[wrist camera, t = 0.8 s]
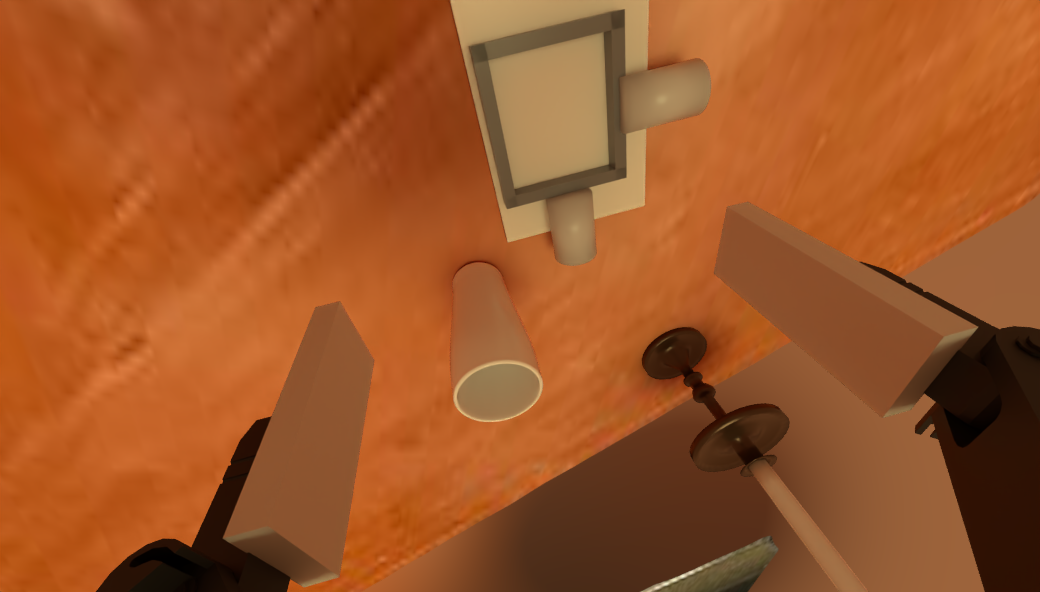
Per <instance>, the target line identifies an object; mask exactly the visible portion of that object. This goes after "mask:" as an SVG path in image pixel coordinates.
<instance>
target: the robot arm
mask: <svg viewBox="0 0 1040 592" xmlns="http://www.w3.org/2000/svg"><path fill="white" fill-rule="evenodd" d="M714 274H715V275H716V276H717V277H719V278H720V279H721V280H722V281H723V282H724V283H726V284H727V285H728V286H729V287H730V288H731V289H733V290H734V291H735V292H736V293H737V294H738V295H740V296H741V297H742V298H743V299H744V300H745V301H747V302H748V303H749V304H750V305H751V306H752V307H754V308H755V309H756V310H757V311H758V312H759V313H761V314H762V315H763V316H764V317H765V318H766V319H768V320H769V321H770V322H771V323H772V324H773V325H774V326H776V327H777V328H778V329H779V330H780V331H781V332H783V333H784V334H785V335H786V336H787V337H788V338H790V339H791V340H792V341H793V342H794V343H796V344H797V345H798V346H799V347H800V348H801V349H802V350H804V351H805V352H806V353H807V354H808V355H809V356H811V357H812V358H813V359H814V360H815V361H816V362H818V363H819V364H820V365H821V366H822V367H824V368H825V369H826V370H827V371H828V372H829V373H830V374H832V375H833V376H834V377H835V378H836V379H838V380H839V381H840V382H841V383H842V384H843V385H844V386H846V387H847V388H848V389H849V390H850V391H851V392H853V393H854V394H855V395H856V396H857V397H858V398H860V399H861V400H862V401H863V402H864V403H865V404H867V405H868V406H869V407H870V408H871V409H872V410H874V411H875V412H876V413H877V414H878V415H879V416H881V417H882V418H884V417H888V416H891V415H895V414H898V413H902V412H905V411H908V410H911V409H912V408H913V407H914V405H915V404H916V403H917V402H918V400H919V399H920V398H921V397H922V395H923V394H924V393H925V394H926V395H927V396H929V397H930V398H932V399H933V400H934V401H936V403H935V404H934V405H933V406H932V407H931V408H930V410H929V411H928V412H927V413H926V414H925V415H924V417H923V418H922V419H921V420H920V421H919V422H918V424H917V425H916V426H915V433H917V434H920V435H921V434H922V433H923V432H924V431H925V429H927V427H928V426H929V425H930V424H934V426H935V430H934V431H933V433H932V434H931V435H930V437H932V438H936V439H938V440H939V443H940V446H941V449H942V453H943V456H944V459H945V463H946V466H947V469H948V472H949V476H950V479H951V482H952V485H953V489H954V492H955V495H956V498H957V502H958V505H959V508H960V512H961V515H962V518H963V521H964V525H965V528H966V531H967V535H968V538H969V541H970V544H971V548H972V551H973V554H974V557H975V561H976V564H977V567H978V571H979V574H980V577H981V581H982V584H983V587H984V590H985V592H1040V329H1035V328H1030V327H1016V326H1013V327H1007V328H1002V329H998V328H996V327H994V326H991V325H990V324H988V323H986V322H984V321H982V320H980V319H978V318H976V317H974V316H973V315H971V314H969V313H967V312H965V311H963V310H961V309H959V308H957V307H955V306H954V305H952V304H950V303H948V302H946V301H944V300H942V299H940V298H938V297H937V296H934V295H933V294H931V293H929V292H923V289H921V288H919V287H918V286H916V285H913V284H912V283H906V281H905V280H904V279H902V278H901V277H899V276H897V275H895V274H893V273H891V272H889V271H887V270H885V269H883V268H879V267H876V266H873V265H870V264H867V263H863V262H858V261H856V260H854V259H852V258H851V257H849V256H847V255H845V254H843V253H841V252H840V251H838V250H836V249H834V248H832V247H830V246H828V245H827V244H825V243H823V242H821V241H819V240H817V239H816V238H814V237H812V236H810V235H808V234H806V233H805V232H803V231H801V230H799V229H797V228H795V227H794V226H792V225H790V224H788V223H786V222H784V221H782V220H781V219H779V218H777V217H775V216H773V215H771V214H770V213H768V212H766V211H764V210H762V209H760V208H759V207H757V206H755V205H753V204H751V203H749V202H745V203H741V204H736V205H732V206H728V207H727V209H726V214H725V219H724V224H723V229H722V234H721V239H720V244H719V249H718V254H717V259H716V264H715V270H714ZM373 365H374V359H373V357H372V355H371V354H370V352H369V350H368V349H367V347H366V345H365V343H364V342H363V340H362V338H361V337H360V335H359V333H358V331H357V330H356V328H355V326H354V325H353V323H352V321H351V319H350V318H349V316H348V314H347V313H346V311H345V309H344V307H343V306H342V304H341V302H340V301H339V302H335V303H331V304H327V305H323V306H318V307H315V310H314V312H313V315H312V317H311V320H310V322H309V325H308V327H307V330H306V332H305V335H304V337H303V340H302V342H301V345H300V347H299V350H298V352H297V355H296V357H295V360H294V362H293V365H292V367H291V370H290V372H289V375H288V377H287V380H286V382H285V385H284V387H283V390H282V392H281V395H280V397H279V399H278V402H277V404H276V407H275V409H274V412H273V414H272V416H271V417H267V418H263V419H260V420H256V422H255V423H254V424H253V425H252V426H251V428H250V429H249V430H248V431H247V433H246V434H245V435H244V436H243V438H242V439H241V440H240V442H239V444H238V446H237V448H236V450H235V453H234V455H233V457H232V459H231V461H230V462H231V465H230V466H228V468H227V470H226V472H225V475H224V477H223V479H222V480H223V483H222V484H220V486H219V488H218V490H217V492H216V494H215V497H214V499H213V501H212V503H211V505H210V508H209V510H208V512H207V514H206V516H205V519H204V521H203V523H202V525H201V527H200V530H199V532H198V534H197V536H196V538H195V541H194V543H193V545H192V547H189V546H188V545H186V544H184V543H182V542H180V541H178V540H176V539H161V540H158V541H155V542H153V543H150V544H147V545H145V546H144V547H142V548H141V549H139V550H138V551H136V552H135V553H133V554H132V555H130V556H129V557H127V558H126V559H125V560H124V561H123V562H122V563H121V564H120V565H119V566H118V567H117V568H116V569H115V570H113V571H112V572H111V573H110V574H109V576H108V577H107V578H106V579H105V581H104V582H103V583H102V585H101V586H100V587H99V588H98V590H97V591H96V592H287V589H288V585H289V581H290V579H291V580H293V581H294V582H296V583H298V584H299V585H301V586H303V587H307V586H310V585H314V584H317V583H321V582H324V581H327V580H331V579H334V578H338V577H339V576H340V570H341V564H342V558H343V552H344V545H345V539H346V533H347V527H348V521H349V514H350V508H351V502H352V496H353V489H354V483H355V477H356V471H357V465H358V458H359V452H360V446H361V440H362V434H363V427H364V421H365V415H366V409H367V403H368V396H369V390H370V384H371V378H372V371H373Z"/></svg>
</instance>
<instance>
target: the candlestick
mask: <svg viewBox="0 0 1040 592" xmlns="http://www.w3.org/2000/svg"><path fill="white" fill-rule="evenodd" d="M706 348H707V343H706V340H705V338H704V337H703V335H702V334H701V333H700V332H699V331H698V330H696V329H693V328H687V327H683V328H677V329H673V330H670V331H668V332H666V333H664V334H662V335H661V336H659V337H658V338H656V339H655V340H654V341H653V342H652V343H651V344H650V345H649V346H648V347H647V349H646V350H645V352H644V354H643V358H642V365H643V367H644V369H645V371H646V372H647V374H648V375H649V376H651V377H653V378H655V379H670V378H674V377H677V376H680V375H682V374H683V375H684V377H685V378H684V381H683V382H684V384H685V385H686V386H688V387H691V388H692V389H693V391H692V394H693V399H694V400H695V401H696V402H698V403H704V404H705V405H706V406H707V408H708V409H709V410H710V412H711V413H712V415H713V416H714V417H715V419H716V420H715V421H714V422H712V423H711V424H709V425H708V426H707V427H706V428H705V429H703V430H702V431H701V432H700V433H699V434H698V435H697V437H696V438H695V439H694V441H693V443H692V445H691V447H690V456H691V458H692V460H693V461H694V463H695V464H696V466H697V467H698V468H699V469H701V470H703V471H707V472H718V471H725V470H729V469H732V468H736V467H739V466H741V465H744V464H745V465H746V466H745V467H744V468H743V469H742V470H741V473H740V474H741V476H744V477H750V476H755V477H756V479H757V480H758V481H759V483H760V484H761V485H762V487H763V488H764V490H765V491H766V492H767V494H768V495H769V497H770V498H771V499H772V501H773V502H774V503H775V505H776V506H777V508H778V509H779V510H780V512H781V513H782V514H783V516H784V517H785V518H786V520H787V521H788V523H789V524H790V525H791V527H792V528H793V529H794V531H795V532H796V534H797V535H798V536H799V538H800V539H801V540H802V542H803V543H804V544H805V546H806V547H807V549H808V550H809V551H810V553H811V554H812V556H813V557H814V558H815V560H816V561H817V562H818V564H819V565H820V566H821V568H822V569H823V570H824V572H825V573H826V575H827V576H828V577H829V579H830V580H831V581H832V583H833V584H834V586H835V587H836V588H837V590H838V591H839V592H869V591H868V590H867V589H866V588H865V586H864V585H863V584H862V582H861V581H860V580H859V579H858V578H857V576H856V575H855V574H854V572H853V571H852V570H851V568H850V567H849V566H848V565H847V563H846V562H845V561H844V560H843V558H842V557H841V556H840V555H839V553H838V552H837V551H836V549H835V548H834V547H833V545H832V544H831V543H830V542H829V540H828V539H827V538H826V537H825V535H824V534H823V533H822V531H821V530H820V529H819V528H818V526H817V525H816V524H815V523H814V521H813V520H812V519H811V517H810V516H809V515H808V514H807V512H806V511H805V510H804V508H803V507H802V506H801V505H800V503H799V502H798V501H797V499H796V498H795V497H794V496H793V494H792V493H791V492H790V491H789V489H788V488H787V487H786V485H785V484H784V483H783V482H782V480H781V479H780V478H779V477H778V475H777V474H776V473H775V471H774V470H773V469H772V468H771V466H772V465H773V464H775V462H776V460H777V457H776V456H775V455H766V456H763V454H765V453H766V452H767V451H769V450H770V449H772V448H773V447H774V446H775V445H776V444H777V443H778V442H779V441H780V440H781V439H782V438H783V437H784V435H785V434H786V432H787V430H788V428H789V419H788V417H787V416H786V415H785V414H784V413H783V412H782V411H781V410H780V408H779V407H777V406H775V405H773V404H766V403H765V404H754V405H749V406H746V407H742V408H739V409H737V410H734V411H732V412H730V413H727V414H726V413H725V411H724V410H723V409H722V408H721V406H720V405H719V404H718V402H717V401H716V400H715V398H714V396H715V393H716V391H715V389H714V387H713V386H711V385H709V384H706V383H703V382H702V377H703V376H702V374H701V373H700V372H694V371H693V370H692V368H693V367H694V366H695V365H696V364H698V362H699V361H700V360H701V359H702V357H703V356H704V354H705V351H706Z"/></svg>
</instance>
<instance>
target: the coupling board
mask: <svg viewBox="0 0 1040 592" xmlns="http://www.w3.org/2000/svg"><path fill="white" fill-rule="evenodd" d="M450 4H451V8H452V12H453V17H454V21H455V25H456V29H457V33H458V38H459V42H460V46H461V50H462V54H463V58H464V63H465V67H466V71H467V75H468V79H469V84H470V88H471V92H472V96H473V100H474V105H475V109H476V113H477V117H478V121H479V126H480V130H481V134H482V138H483V142H484V147H485V151H486V155H487V159H488V163H489V167H490V172H491V176H492V180H493V184H494V188H495V193H496V197H497V201H498V205H499V209H500V214H501V218H502V222H503V226H504V230H505V235H506V239H507V241H508V242H512V241H515V240H519V239H523V238H527V237H530V236H534V235H538V234H541V233H545V232H549V231H551V234H552V241H553V247H554V254H555V259H556V260H557V261H558V262H559V263H561V264H564V265H570V266H574V265H581V264H585V263H587V262H589V261H591V260H592V259H593V258H594V257H595V256H596V253H597V251H596V237H595V223H594V219H597V218H601V217H605V216H608V215H612V214H616V213H619V212H623V211H627V210H631V209H634V208H638V207H642V206H645V166H646V128H650V127H654V126H658V125H662V124H666V123H670V122H673V121H677V120H681V119H685V118H689V117H693V116H697V115H699V114H701V113H702V112H703V111H704V110H705V108H706V106H707V104H708V101H709V98H710V93H711V78H710V73H709V69H708V67H707V65H706V63H705V62H704V61H703V60H701V59H699V58H695V59H691V60H687V61H683V62H679V63H675V64H671V65H667V66H663V67H659V68H655V69H651V70H647V69H648V20H649V0H450Z"/></svg>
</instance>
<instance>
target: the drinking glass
mask: <svg viewBox="0 0 1040 592" xmlns="http://www.w3.org/2000/svg"><path fill="white" fill-rule="evenodd" d="M452 293H453V301H452V321H451V338H450V376H451V385H452V392H453V400H454V404H455V406H456V408H457V409H458V410H459V411H460V412H461V413H462V414H463V415H465V416H466V417H468V418H471V419H473V420H477V421H482V422H497V421H503V420H507V419H511V418H513V417H516V416H518V415H520V414H522V413H524V412H525V411H527V410H528V409H529V408H531V407H532V406H533V405H534V404H535V403H536V401H537V400H538V399H539V397H540V395H541V393H542V389H543V380H542V376H541V372H540V368H539V365H538V361H537V358H536V354H535V351H534V348H533V346H532V343H531V341H530V338H529V336H528V333H527V331H526V329H525V327H524V325H523V323H522V320H521V318H520V316H519V314H518V312H517V310H516V308H515V306H514V303H513V301H512V299H511V297H510V295H509V293H508V290H507V288H506V286H505V283H504V279H503V277H502V275H501V273H500V271H499V270H498V269H497V268H495V267H494V266H492V265H490V264H488V263H483V262H475V263H470V264H468V265H466V266H464V267H462V268H461V269H460V270H459V271H458V272H457V273H456V275H455V276H454V279H453V282H452Z"/></svg>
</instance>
